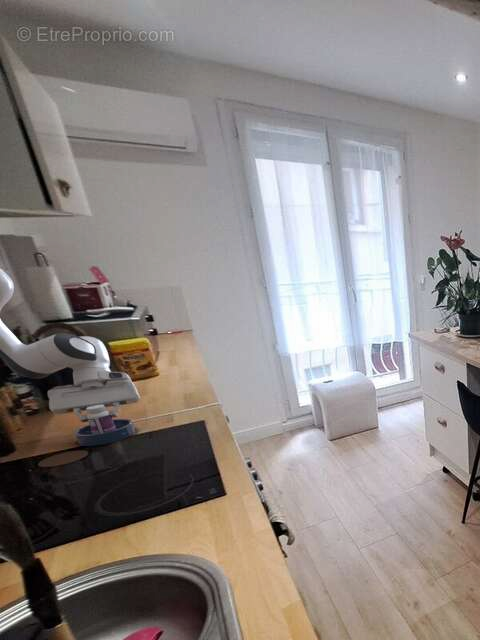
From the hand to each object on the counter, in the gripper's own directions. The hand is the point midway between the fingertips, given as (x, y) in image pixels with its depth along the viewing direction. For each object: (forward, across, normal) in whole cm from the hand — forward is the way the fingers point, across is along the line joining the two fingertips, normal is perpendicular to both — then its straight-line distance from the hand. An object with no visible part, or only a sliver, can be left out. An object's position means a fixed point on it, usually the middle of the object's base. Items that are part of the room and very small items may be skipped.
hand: (99, 418), depth 130 cm
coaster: (+13, -8, -3) cm, 16 cm away
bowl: (+4, 0, +6) cm, 7 cm away
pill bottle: (+4, 0, +4) cm, 6 cm away
